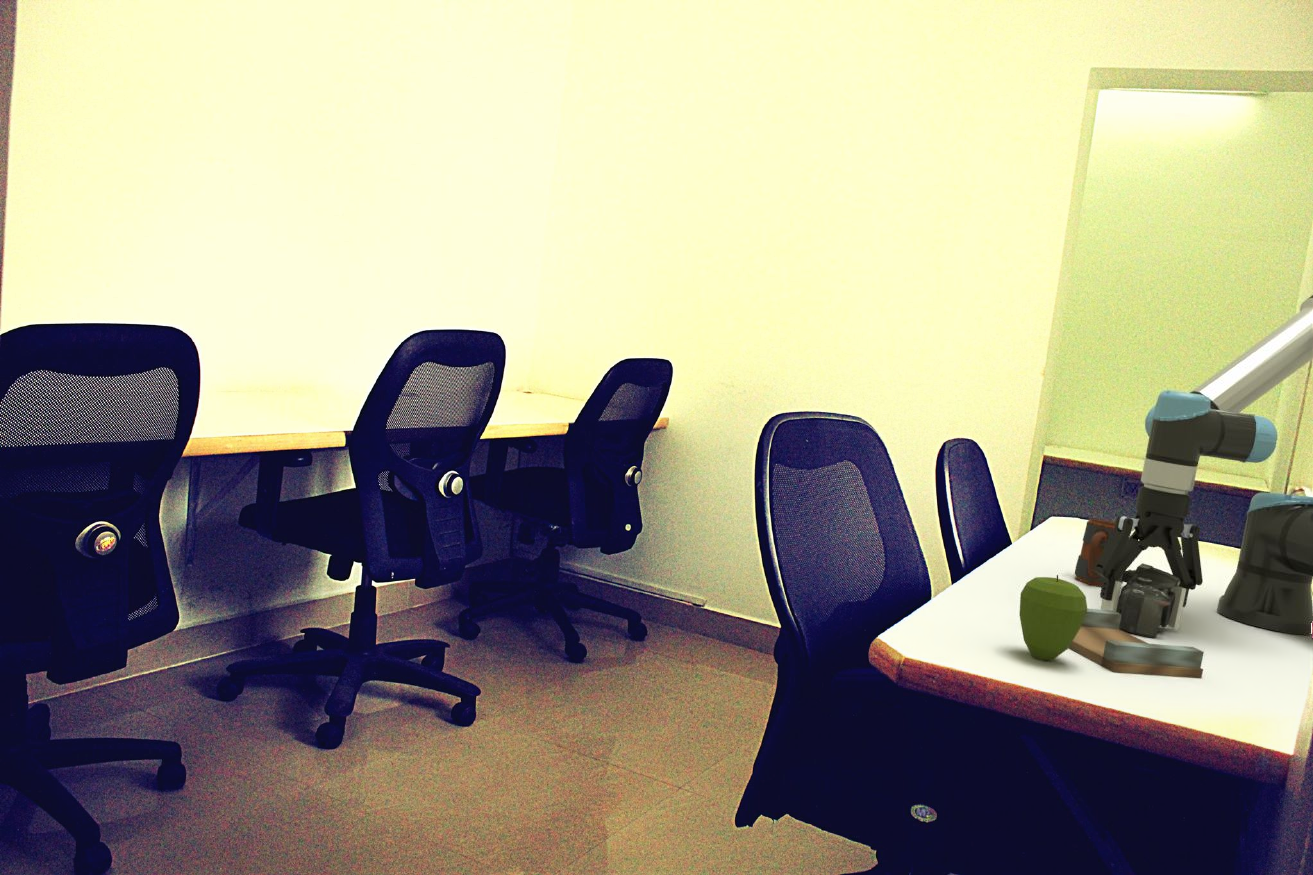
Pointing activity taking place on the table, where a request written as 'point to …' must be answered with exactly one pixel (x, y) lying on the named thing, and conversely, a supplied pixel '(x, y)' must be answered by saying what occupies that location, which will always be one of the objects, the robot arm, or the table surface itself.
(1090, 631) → the stand
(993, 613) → the table surface
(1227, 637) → the table surface
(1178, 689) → the table surface
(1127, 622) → the camera
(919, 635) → the table surface
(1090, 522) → the mug
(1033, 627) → the apple
